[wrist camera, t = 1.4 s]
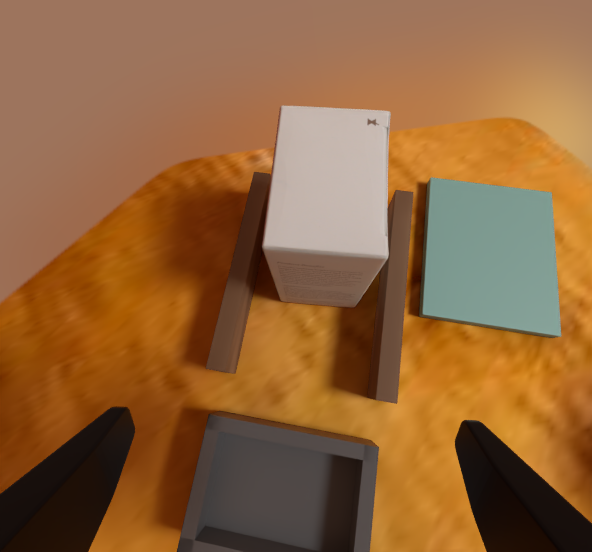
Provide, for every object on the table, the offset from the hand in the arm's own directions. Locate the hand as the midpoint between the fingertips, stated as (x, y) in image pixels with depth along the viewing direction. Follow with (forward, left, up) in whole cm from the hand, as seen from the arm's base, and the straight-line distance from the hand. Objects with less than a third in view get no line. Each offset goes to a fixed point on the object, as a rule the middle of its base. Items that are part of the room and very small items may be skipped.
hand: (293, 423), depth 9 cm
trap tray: (0, +5, -14) cm, 15 cm away
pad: (-12, -12, -14) cm, 22 cm away
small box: (0, -10, -14) cm, 17 cm away
